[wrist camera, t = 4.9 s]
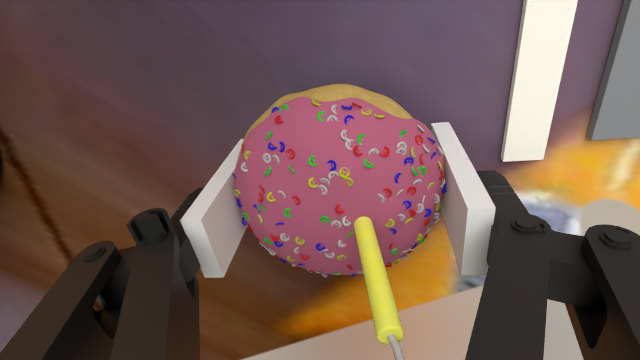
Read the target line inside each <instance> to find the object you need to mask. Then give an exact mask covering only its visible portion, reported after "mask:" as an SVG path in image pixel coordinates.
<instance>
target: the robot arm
mask: <svg viewBox="0 0 640 360" xmlns="http://www.w3.org/2000/svg"><path fill="white" fill-rule="evenodd" d="M431 133H432V134H433V136H434V137H435V139H436V141H437V142H438V144H439V146H440V148H441V150H442V151H443V155H442V156H443V162H444V177H445V184H446V190H447V191H446V192H445V193H443V197H442V203H441V206H440V209H441V213H442V216H443V219H444V222H445V225H446V229H447V232H448V235H449V238H450V241H451V245H452V248H453V251H454V254H455V257H456V261H457V264H458V267H459V270H460V273H461V275H485V274H486V267H487V263H488V265H489V267H488V271H487V275H486V279H485V283H484V288H483V291H482V295H481V299H480V303H479V307H478V311H477V315H476V319H475V323H474V327H473V330H472V334H471V338H470V342H469V346H468V351H467V354H466V358H465V360H543V354H544V340H545V339H544V338H545V325H546V309H547V299H550V300H554V301H558V302H562V303H565V305H566V308H567V311H568V314H569V317H570V320H571V323H572V326H573V329H574V331H575V335H576V338H577V341H578V344H579V347H580V350H581V353H582V356H583V358H584V360H640V236H639V235H638V234H636V233H634V232H632V231H630V230H628V229H625V228H622V227H619V226H613V225H595V226H593V227H589V229H588V230H587V231H586V233H585V236H578V235H572V234H566V233H561V232H556V231H553V230H551V227H550V225H549V224H548V223H547V222H546V221H545V220H543V219H541V218H539V217H537V216H535V215H531V214H529V213H528V211H527V210H526V208H525V207H524V205H523V204H522V202H521V201H520V199H519V198H518V196H517V195H516V193H514V190H513V189H512V187H510V184H509V183H508V181H507V180H506V178H505V177H504V176H502V175H501V174H499V173H497V172H496V171H494V170H491V171H475V169H474V167H473V165H472V163H471V162H470V160H469V158H468V156H467V154H466V152H465V151H464V149H463V147H462V145H461V143H460V142H459V140H458V138H457V136H456V134H455V132H454V131H453V129H452V127H451V125H450V123H449V122H443V123H431ZM243 140H244V139H240V140H239V142H238V143H237V145H236V146H235V147H234V149H233V150H232V151H231V153H230V154H229V155H228V157H227V158H226V159H225V161H224V162H223V163H222V165H221V166H220V167H219V169H218V170H217V171H216V173H215V174H214V175H213V177H212V178H211V180H210V181H209V182H208V184H207V185H206V186H205V188H198V189H197V190H196V191H194V192H193V193H191V194H190V195H189V196H188V197H187V199H186V200H185V201H184V202H183V203H184V204H182V205H181V206H180V207H179V210H177V211H176V213H175V214H174V215H173V216H172V218H171V219H170V218H169V216H168V214H167V212H166V210H164V209H161V208H155V209H149V210H147V211H144V212H141V213H140V214H138V215H136V216H134V217H133V218H132V219H131V220H130V221H129V222H128V224H127V227H128V229H129V231H130V233H131V234H132V236H133V238H134V240H135V242H136V246H134V247H130V248H126V249H122V250H117V248H116V246H115V244H114V243H113V242H110V241H103V242H99V243H95V244H92V245H90V246H88V247H87V248H85V249H84V250H82V251H81V252H80V253H79V254H78V255H77V256H76V257H75V258H74V259H73V261H72V262H71V263H70V264H69V266H68V267H67V268H66V270H65V271H64V272H63V273H62V275H61V276H60V277H59V278H58V280H57V281H56V282H55V284H54V285H53V286H52V287H51V289H50V290H49V291H48V293H47V294H46V295H45V296H44V298H43V299H42V300H41V302H40V303H39V304H38V305H37V307H36V308H35V309H34V311H33V312H32V313H31V314H30V316H29V317H28V318H27V319H26V321H25V322H24V323H23V325H22V326H21V327H20V328H19V330H18V331H17V332H16V334H15V335H14V336H13V337H12V339H11V340H10V341H9V343H8V344H7V345H6V346H5V348H4V349H3V350H2V351H1V353H0V360H200V338H199V283H198V280H197V278H196V276H195V275H196V273H197V271H198V269H199V267H200V268H201V270H202V272H203V275H204V277H205V278H219V277H224V276H225V273H226V271H227V269H228V267H229V265H230V263H231V260H232V258H233V256H234V254H235V252H236V250H237V247H238V245H239V243H240V241H241V239H242V237H243V234H244V232H245V230H246V228H247V226H248V225H246V226H244V225H243V224H242V218H243V215H242V212H241V210H240V207H239V206H238V205H237V201H236V199H237V197H236V195H235V194H234V192H235V185H234V176H233V175H232V173H233V174H235V168H236V163H237V159H238V156H239V153H240V149H241V146H242V143H243ZM444 189H445V187H444ZM444 189H443V190H444ZM243 222H244V224H245V219H244V221H243ZM96 298H97V300H98V301H99V303H100V306H99V308H98V309H97V310H94V308H93V305H94V302H95V300H96Z"/></svg>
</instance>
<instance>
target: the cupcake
mask: <svg viewBox="0 0 640 360" xmlns="http://www.w3.org/2000/svg"><path fill="white" fill-rule="evenodd" d="M442 155H443V151H442V150H441V148H440V146H439V144H438V142H437V141H436V139H435V137H434V136H433V134H432V133H431V131H430V130H429V129H428V128H427V127H426V126H425V125H424V124H423V123H422V122H420V121H419V120H416V119H414V118H413V117H412V116H411V115H410V114H409V113H408V112H407V111H405V110H404V109H403V108H402V107H401V106H400V105H399V104H397V103H396V102H395V101H394V100H392V99H390V98H389V97H387V96H384V95H381V94H378V93H374V92H371V91H369V90H366V89H363V88H360V87H357V86H354V85H349V84H332V85H327V86H322V87H317V88H312V89H309V90H306V91H303V92H298V93H292V94H288V95H285V96H283V97H281V98H280V99H279V100H277V101H276V102H275V103H274V104H273V105H272V106H271V107H270V108H269V109H268V110H267V111H266V112H265V113H263V114H262V115H261V116H260V117H259V118H258V119H257V120H256V121H255V122H254V123H253V124H252V126H251V127H250V128H249V130H248V131H247V133H246V135H245V138H244V140H243V143H242V146H241V149H240V153H239V156H238V159H237V163H236V168H235V174H233V173H232V175H233V176H234V185H235V192H234V194H235V195H236V197H237V199H236V201H237V205H238V206H239V207H240V210H241V212H242V215H243V218H242V224H243V225H244V226H246V225H248V228H249V231H252V232H253V233H254V235H255V236H256V237H257V239H258V240H259V241H260V244H261V246H263V247H265V248H266V250H268V249H269V250H268V251H269V253H270V254H271V255H275V256H276V257H277V258H279V257H280V259H281V261H283V262H286V261H287V262H288V263H290V264H292V266H294V267H295V268H298V269H300V268H304V269H307V270H308V271H309V272H311V273H312V272H315V273H318V274H319V273H321V274H322V275H323V276H324V277H327V274H328V275H349V274H350V275H351V276H355V275H356V274H364V278H365V283H366V288H367V292H368V297H369V302H370V307H371V312H372V317H373V322H374V326H375V331H376V336H377V339H378V340H379V341H380V342H381V343H384V344H391V347H392V349H393V353H394V357H395V360H404V356H403V352H402V349H401V346H400V344H399V341H400V340H401V339H402V338H403V335H404V332H403V328H402V324H401V321H400V317H399V314H398V310H397V307H396V303H395V300H394V296H393V293H392V289H391V286H390V283H389V279H388V276H387V272H386V269H385V267H391V266H392V264H396V263H398V262H399V258H401V259H402V258H407V257H408V256H407V255H405V254H408V253H411V252H412V251H413V248H415V247H416V246H417V245H418V244H419V243H422V242H423V241H424V240H425V239H426V237H427V235H428V233H429V232H430V231H431V227H432V226H433V224H435V223H437V222H438V220H439V216H440V213H438V212H439V210H440V206H441V203H442V197H443V193H445V192H446V191H447V190H446V184H445V177H444V162H443V156H442ZM444 187H445V189H444ZM443 189H444V190H443ZM244 219H245V224H244V222H243V221H244ZM436 219H437V220H436ZM271 252H273V253H271ZM284 260H285V261H284ZM396 261H397V262H396ZM296 266H297V267H296ZM324 274H326V275H324Z"/></svg>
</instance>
